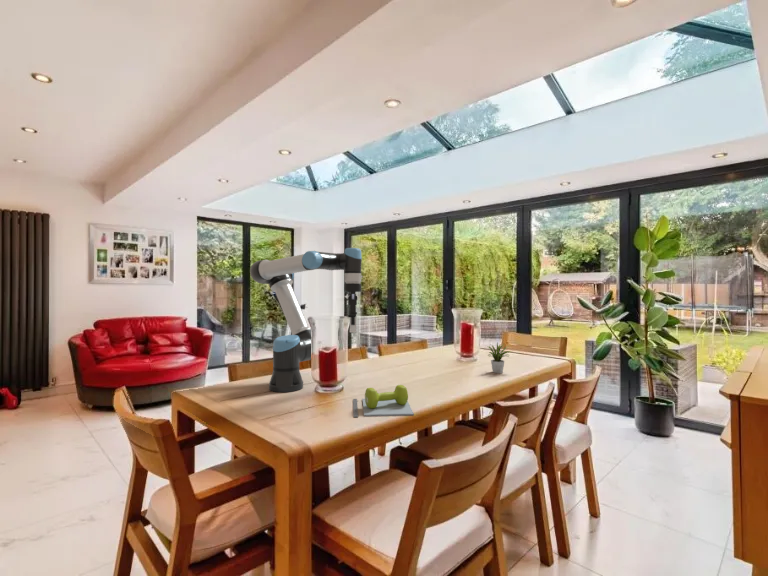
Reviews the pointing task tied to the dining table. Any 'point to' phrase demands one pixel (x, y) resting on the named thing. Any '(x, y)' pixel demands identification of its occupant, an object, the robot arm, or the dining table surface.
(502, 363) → the house plant
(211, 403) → the dining table surface
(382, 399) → the dumbbell
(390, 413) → the mat
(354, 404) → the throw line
